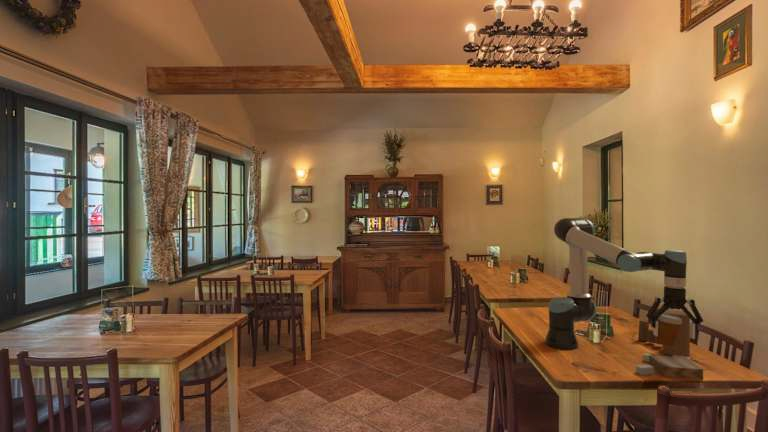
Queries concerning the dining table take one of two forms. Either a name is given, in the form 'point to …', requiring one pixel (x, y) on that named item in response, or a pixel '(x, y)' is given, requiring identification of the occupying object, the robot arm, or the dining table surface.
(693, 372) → the walnut slab
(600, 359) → the dining table surface
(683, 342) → the wooden block
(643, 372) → the brick bluegrey
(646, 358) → the brick sage
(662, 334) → the disposable coffee cup
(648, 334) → the wooden block set
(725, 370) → the dining table surface
